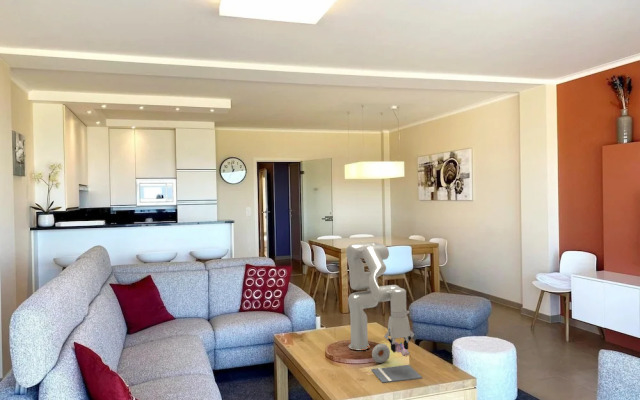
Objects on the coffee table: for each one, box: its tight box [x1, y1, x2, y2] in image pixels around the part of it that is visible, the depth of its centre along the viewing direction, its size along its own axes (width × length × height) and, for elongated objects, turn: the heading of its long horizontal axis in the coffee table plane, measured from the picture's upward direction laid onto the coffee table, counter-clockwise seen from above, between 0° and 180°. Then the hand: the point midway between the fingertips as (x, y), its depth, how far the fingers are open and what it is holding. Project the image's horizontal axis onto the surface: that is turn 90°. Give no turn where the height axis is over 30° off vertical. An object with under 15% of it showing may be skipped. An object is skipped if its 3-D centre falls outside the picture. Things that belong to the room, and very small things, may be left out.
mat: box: [371, 364, 423, 384], centre depth 233 cm, size 16×20×1 cm
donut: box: [371, 343, 391, 364], centre depth 248 cm, size 10×4×10 cm, turn 108°
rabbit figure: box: [389, 341, 412, 358], centre depth 232 cm, size 6×6×15 cm
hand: (399, 350), depth 233 cm, fingers closed on rabbit figure, 5 cm apart
